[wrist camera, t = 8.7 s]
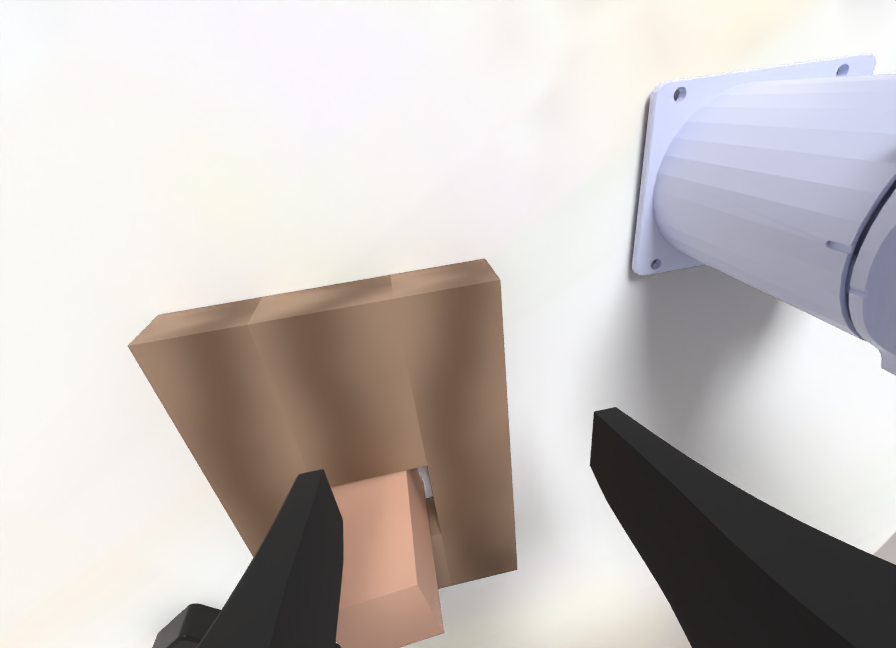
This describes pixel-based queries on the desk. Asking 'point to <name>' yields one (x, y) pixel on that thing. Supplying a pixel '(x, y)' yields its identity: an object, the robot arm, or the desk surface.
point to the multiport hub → (189, 628)
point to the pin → (386, 563)
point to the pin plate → (351, 400)
